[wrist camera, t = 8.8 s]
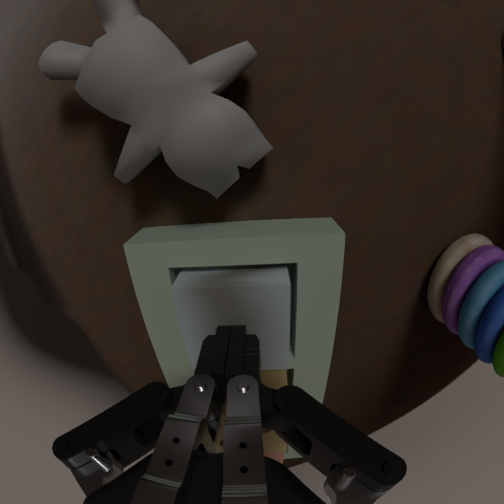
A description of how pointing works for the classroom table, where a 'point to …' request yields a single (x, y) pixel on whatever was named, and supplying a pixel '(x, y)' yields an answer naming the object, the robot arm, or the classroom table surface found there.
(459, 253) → the stacking toy
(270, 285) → the grey block
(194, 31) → the classroom table surface
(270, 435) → the tile
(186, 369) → the number board
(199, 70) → the bunny figurine
